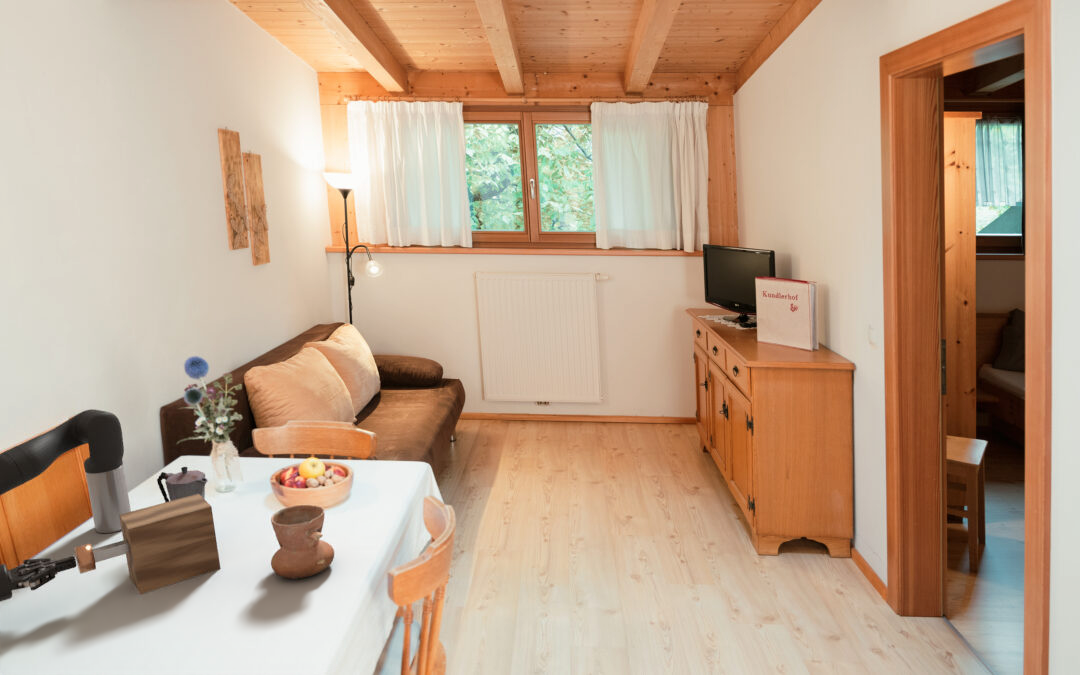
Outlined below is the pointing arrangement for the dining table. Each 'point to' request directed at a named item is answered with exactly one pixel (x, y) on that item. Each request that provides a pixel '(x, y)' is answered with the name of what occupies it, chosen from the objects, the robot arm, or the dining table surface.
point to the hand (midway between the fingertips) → (75, 561)
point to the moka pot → (182, 484)
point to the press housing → (170, 542)
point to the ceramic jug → (300, 542)
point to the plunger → (98, 554)
